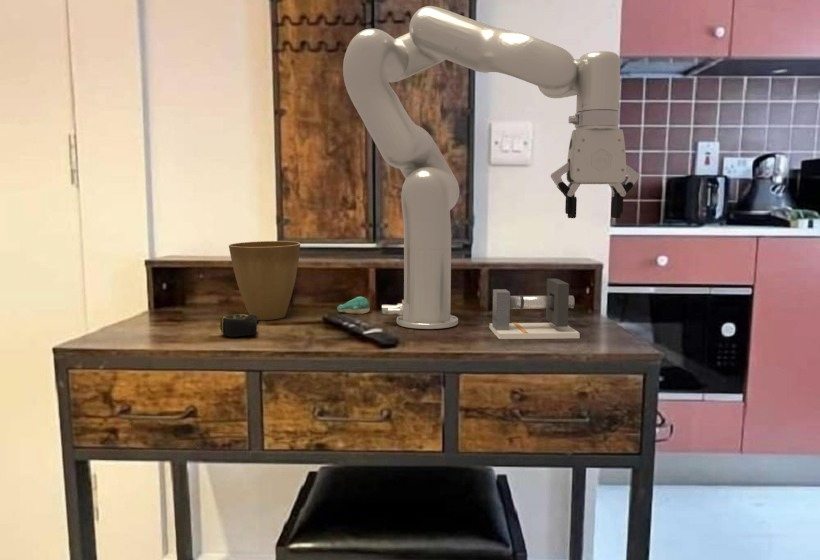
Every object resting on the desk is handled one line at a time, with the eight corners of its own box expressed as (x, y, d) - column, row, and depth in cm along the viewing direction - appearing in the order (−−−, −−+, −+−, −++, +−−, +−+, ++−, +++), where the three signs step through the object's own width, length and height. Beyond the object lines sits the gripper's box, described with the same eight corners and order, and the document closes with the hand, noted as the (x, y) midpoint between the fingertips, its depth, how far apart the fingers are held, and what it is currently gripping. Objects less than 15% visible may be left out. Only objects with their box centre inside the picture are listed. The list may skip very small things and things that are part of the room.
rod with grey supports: (496, 330, 123) (496, 292, 122) (492, 326, 127) (493, 289, 126) (574, 329, 124) (576, 292, 123) (568, 325, 128) (569, 289, 127)
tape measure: (256, 339, 120) (256, 319, 120) (218, 340, 119) (217, 320, 119) (259, 331, 127) (258, 312, 126) (222, 332, 126) (222, 313, 125)
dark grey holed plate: (557, 326, 121) (558, 284, 120) (545, 318, 129) (546, 278, 128) (567, 326, 121) (569, 283, 120) (555, 318, 129) (557, 278, 128)
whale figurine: (370, 315, 145) (370, 298, 144) (337, 316, 144) (337, 299, 143) (368, 310, 151) (368, 294, 150) (336, 311, 149) (336, 295, 149)
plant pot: (245, 310, 149) (243, 240, 147) (309, 311, 148) (307, 241, 146) (220, 323, 134) (217, 245, 132) (291, 324, 133) (289, 246, 131)
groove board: (499, 339, 120) (499, 333, 120) (489, 328, 130) (489, 322, 130) (579, 338, 121) (579, 332, 121) (563, 327, 131) (564, 322, 130)
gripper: (556, 120, 117) (553, 218, 119) (651, 120, 118) (647, 218, 120) (545, 124, 124) (542, 217, 126) (634, 125, 125) (631, 217, 127)
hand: (593, 217), depth 123 cm, fingers open, 7 cm apart
